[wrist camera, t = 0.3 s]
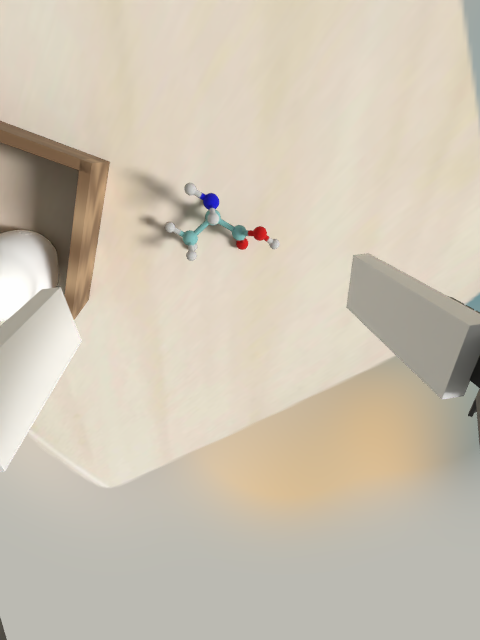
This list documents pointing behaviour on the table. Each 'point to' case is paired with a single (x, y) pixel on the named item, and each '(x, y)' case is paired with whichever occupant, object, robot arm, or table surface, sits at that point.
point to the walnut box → (85, 210)
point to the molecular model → (213, 219)
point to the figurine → (24, 269)
